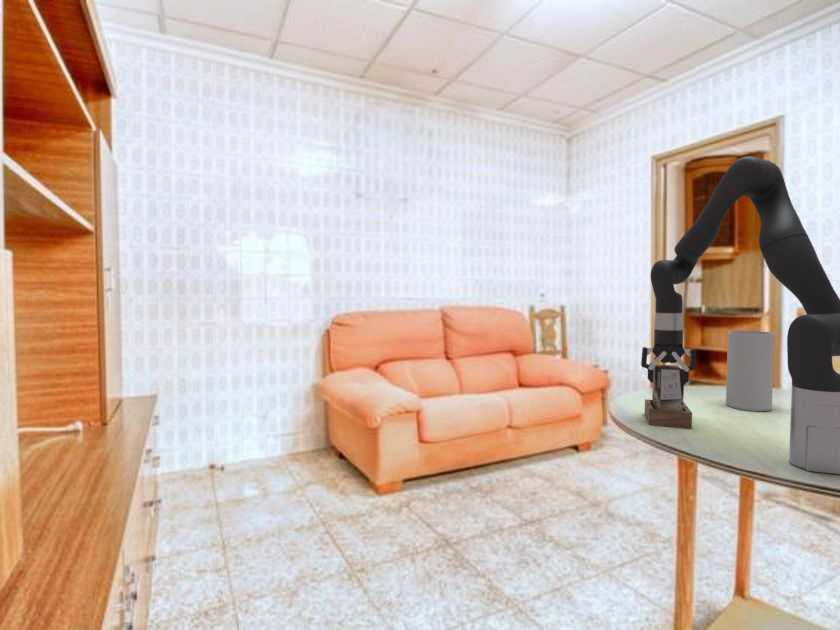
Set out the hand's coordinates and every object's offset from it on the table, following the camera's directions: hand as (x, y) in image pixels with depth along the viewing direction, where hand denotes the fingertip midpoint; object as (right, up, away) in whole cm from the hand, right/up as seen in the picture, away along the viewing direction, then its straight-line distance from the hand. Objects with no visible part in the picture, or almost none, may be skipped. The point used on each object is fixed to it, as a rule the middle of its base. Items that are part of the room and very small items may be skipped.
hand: (667, 383), depth 140 cm
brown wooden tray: (0, -11, +1) cm, 11 cm away
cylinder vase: (+36, -11, +17) cm, 41 cm away
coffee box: (0, -12, +1) cm, 12 cm away
